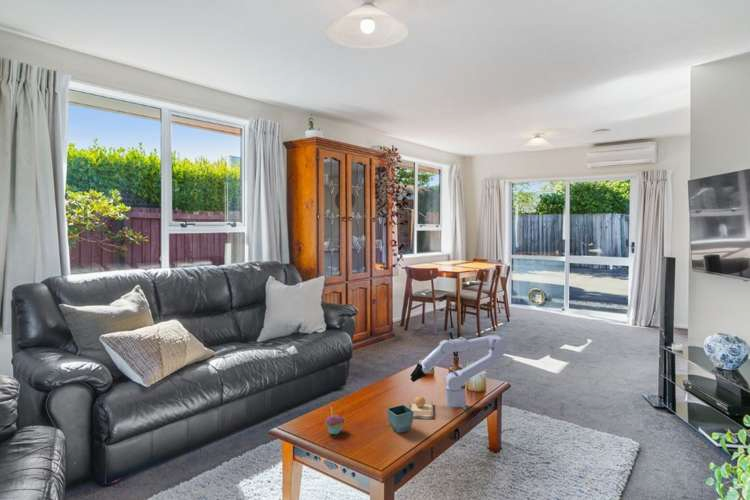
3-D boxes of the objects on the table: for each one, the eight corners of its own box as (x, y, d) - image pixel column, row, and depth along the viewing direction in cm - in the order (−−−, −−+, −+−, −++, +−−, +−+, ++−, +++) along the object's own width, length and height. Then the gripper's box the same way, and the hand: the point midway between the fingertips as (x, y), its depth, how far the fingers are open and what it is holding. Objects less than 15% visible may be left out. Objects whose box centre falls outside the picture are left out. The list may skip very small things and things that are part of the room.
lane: (432, 406, 220) (432, 404, 220) (432, 421, 204) (432, 418, 204) (408, 406, 222) (407, 403, 222) (406, 420, 205) (406, 418, 205)
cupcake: (336, 438, 189) (335, 409, 188) (320, 433, 193) (319, 406, 193) (348, 430, 196) (347, 403, 196) (332, 426, 201) (332, 399, 200)
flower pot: (396, 436, 189) (396, 415, 189) (386, 428, 197) (386, 408, 197) (414, 432, 194) (414, 411, 193) (403, 424, 201) (403, 404, 201)
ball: (425, 405, 220) (425, 394, 220) (425, 409, 215) (425, 398, 215) (415, 404, 220) (414, 394, 220) (414, 408, 216) (414, 398, 215)
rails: (432, 406, 220) (432, 401, 220) (432, 421, 204) (432, 416, 204) (408, 406, 222) (407, 401, 222) (406, 420, 205) (406, 415, 205)
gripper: (426, 351, 227) (406, 369, 227) (427, 356, 212) (406, 375, 213) (436, 361, 226) (416, 380, 226) (437, 367, 212) (416, 387, 212)
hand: (411, 378), depth 219 cm, fingers open, 7 cm apart
